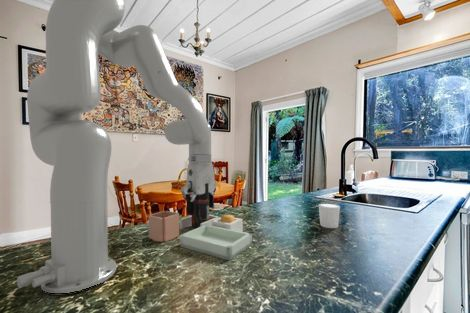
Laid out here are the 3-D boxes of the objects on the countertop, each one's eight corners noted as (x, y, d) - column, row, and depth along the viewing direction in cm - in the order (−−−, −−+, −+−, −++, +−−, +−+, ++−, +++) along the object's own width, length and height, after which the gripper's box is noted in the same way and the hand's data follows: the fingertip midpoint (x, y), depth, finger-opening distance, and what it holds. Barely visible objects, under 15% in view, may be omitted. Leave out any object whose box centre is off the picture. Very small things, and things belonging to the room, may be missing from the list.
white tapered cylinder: (336, 222, 82) (336, 203, 82) (343, 229, 75) (343, 207, 75) (316, 222, 83) (316, 203, 83) (321, 228, 76) (321, 207, 76)
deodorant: (208, 229, 75) (207, 184, 75) (189, 229, 75) (189, 184, 75) (210, 224, 81) (210, 181, 81) (193, 224, 81) (193, 181, 81)
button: (229, 233, 70) (229, 218, 70) (218, 230, 72) (218, 216, 72) (236, 229, 73) (236, 215, 73) (225, 227, 75) (225, 214, 75)
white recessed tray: (228, 239, 66) (228, 225, 66) (180, 228, 77) (179, 216, 77) (244, 230, 75) (244, 217, 75) (198, 221, 85) (198, 210, 85)
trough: (230, 260, 53) (229, 247, 53) (180, 246, 62) (180, 235, 62) (251, 244, 63) (251, 233, 63) (205, 234, 71) (205, 224, 71)
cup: (163, 243, 64) (162, 219, 64) (146, 238, 68) (146, 215, 67) (181, 235, 70) (181, 213, 70) (165, 231, 73) (165, 210, 73)
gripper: (190, 161, 69) (191, 218, 69) (223, 159, 83) (224, 206, 84) (173, 160, 73) (173, 214, 73) (207, 159, 87) (208, 203, 88)
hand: (200, 210), depth 78 cm, fingers open, 9 cm apart
